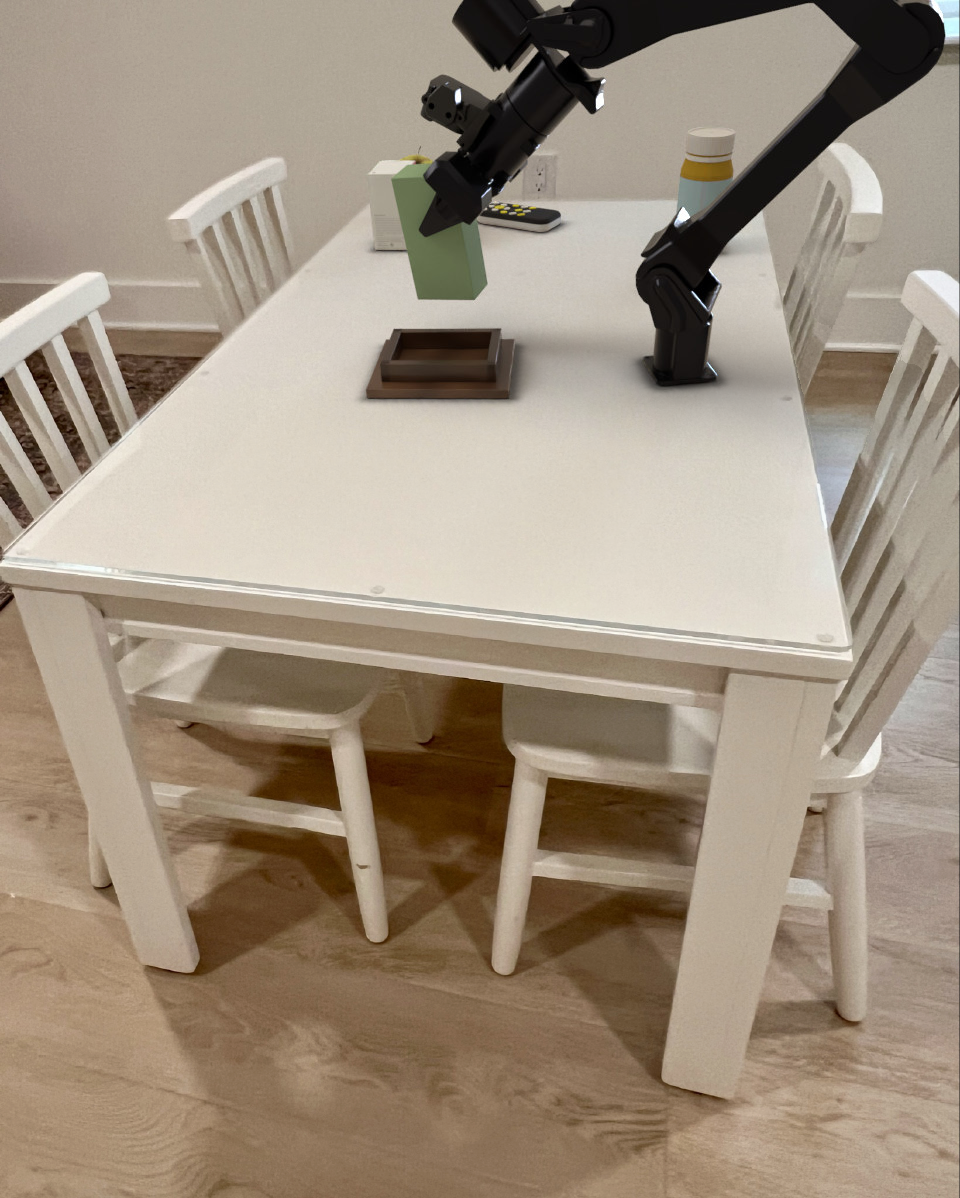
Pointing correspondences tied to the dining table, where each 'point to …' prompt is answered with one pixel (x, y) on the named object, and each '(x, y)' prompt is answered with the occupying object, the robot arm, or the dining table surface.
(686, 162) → the bottle
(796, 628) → the dining table surface
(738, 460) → the dining table surface
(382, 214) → the small box
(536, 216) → the remote control
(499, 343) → the mount dock
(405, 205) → the green rectangular block
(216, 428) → the dining table surface
